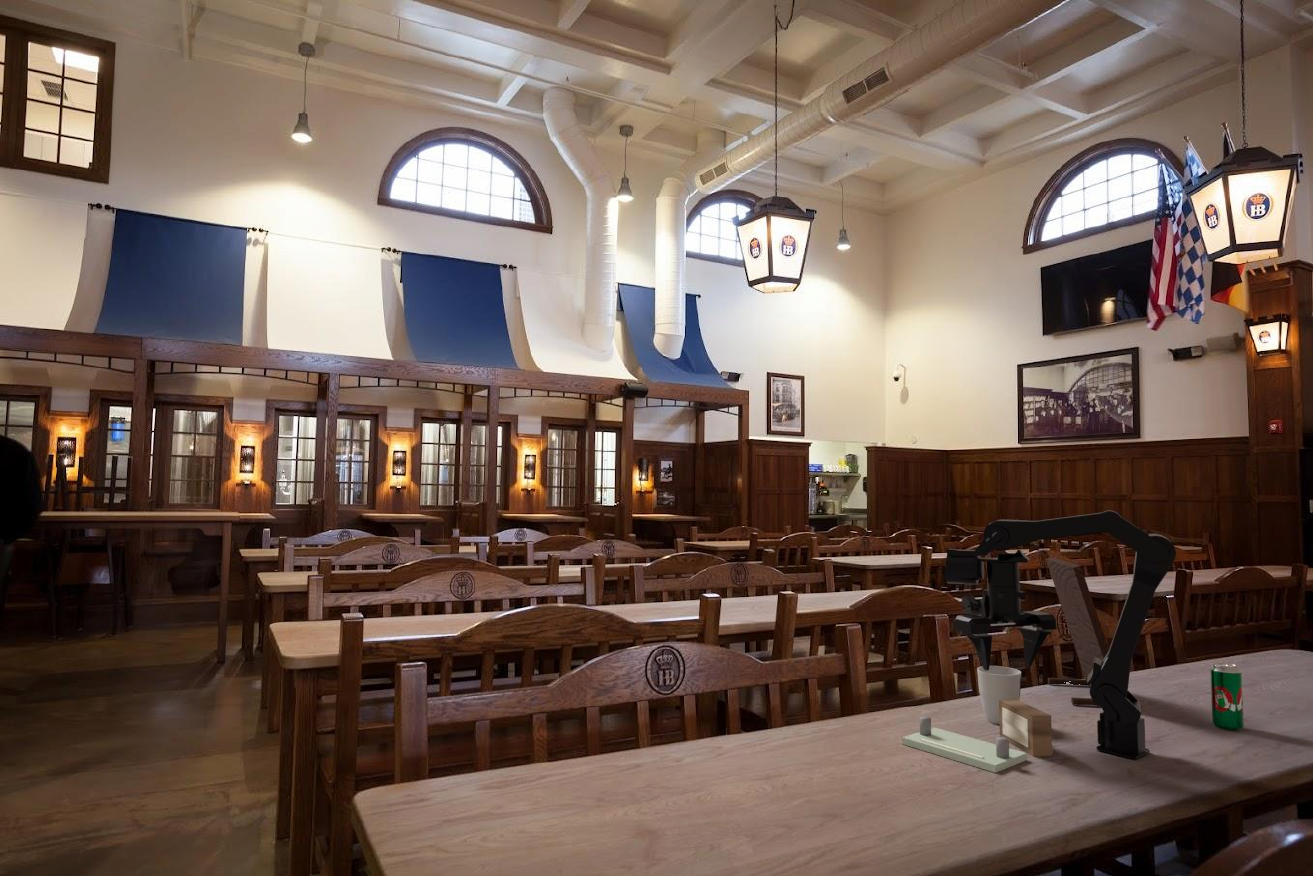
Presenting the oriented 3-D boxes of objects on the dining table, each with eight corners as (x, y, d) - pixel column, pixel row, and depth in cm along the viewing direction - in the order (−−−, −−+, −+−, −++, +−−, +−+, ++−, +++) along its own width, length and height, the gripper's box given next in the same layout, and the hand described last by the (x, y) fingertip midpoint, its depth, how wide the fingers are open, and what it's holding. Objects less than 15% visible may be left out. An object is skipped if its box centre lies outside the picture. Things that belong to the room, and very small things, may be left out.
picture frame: (1128, 709, 167) (1123, 566, 169) (1074, 706, 169) (1070, 565, 171) (1094, 685, 187) (1090, 558, 189) (1046, 683, 189) (1043, 557, 191)
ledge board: (1026, 760, 136) (1026, 735, 136) (995, 772, 130) (994, 746, 130) (934, 733, 150) (934, 711, 150) (902, 744, 144) (901, 720, 144)
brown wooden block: (1052, 756, 138) (1051, 715, 139) (1032, 757, 138) (1031, 716, 138) (1017, 737, 148) (1016, 699, 149) (999, 738, 148) (998, 700, 148)
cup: (1029, 727, 154) (1028, 675, 155) (987, 727, 155) (986, 675, 155) (1011, 715, 162) (1010, 666, 163) (972, 715, 163) (971, 665, 163)
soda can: (1233, 724, 157) (1231, 662, 158) (1250, 731, 152) (1247, 668, 153) (1206, 723, 157) (1204, 662, 158) (1222, 731, 152) (1219, 667, 153)
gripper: (1017, 579, 161) (1020, 657, 160) (935, 583, 157) (939, 663, 156) (1056, 585, 150) (1061, 668, 149) (970, 589, 146) (974, 675, 145)
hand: (1007, 668), depth 150 cm, fingers open, 9 cm apart
